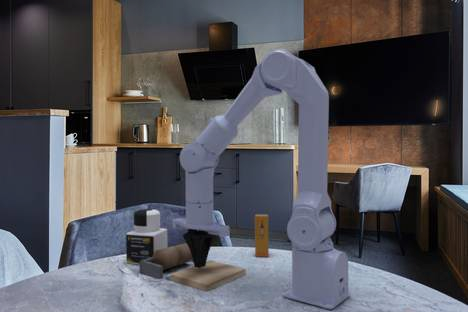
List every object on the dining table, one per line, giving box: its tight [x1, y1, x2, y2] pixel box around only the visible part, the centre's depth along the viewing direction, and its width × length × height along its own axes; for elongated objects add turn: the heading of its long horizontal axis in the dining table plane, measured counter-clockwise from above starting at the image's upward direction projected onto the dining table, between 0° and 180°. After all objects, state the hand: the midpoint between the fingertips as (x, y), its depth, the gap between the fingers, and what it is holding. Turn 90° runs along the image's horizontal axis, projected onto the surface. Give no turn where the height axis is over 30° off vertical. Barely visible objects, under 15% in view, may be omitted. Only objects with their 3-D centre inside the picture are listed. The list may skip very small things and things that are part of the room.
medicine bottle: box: [125, 208, 168, 265], centre depth 93 cm, size 7×7×12 cm
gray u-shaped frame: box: [138, 257, 193, 280], centre depth 88 cm, size 7×14×2 cm, turn 141°
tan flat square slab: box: [165, 260, 247, 292], centre depth 82 cm, size 11×12×1 cm
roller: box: [152, 242, 192, 271], centre depth 88 cm, size 4×8×4 cm
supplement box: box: [254, 213, 270, 258], centre depth 97 cm, size 3×3×10 cm
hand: (200, 266), depth 83 cm, fingers closed
